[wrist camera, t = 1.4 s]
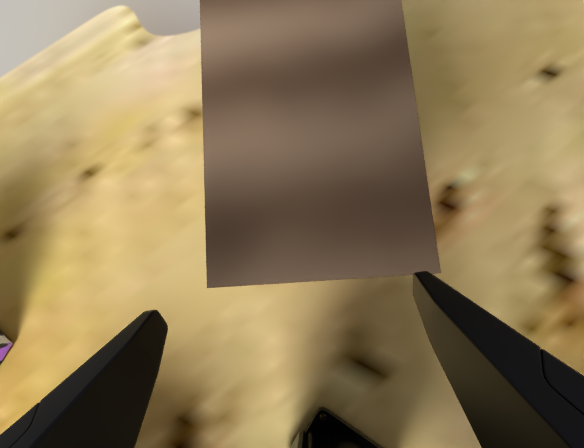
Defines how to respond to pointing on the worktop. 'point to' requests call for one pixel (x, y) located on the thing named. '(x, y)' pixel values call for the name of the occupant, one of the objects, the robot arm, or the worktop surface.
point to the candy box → (4, 346)
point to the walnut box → (311, 143)
